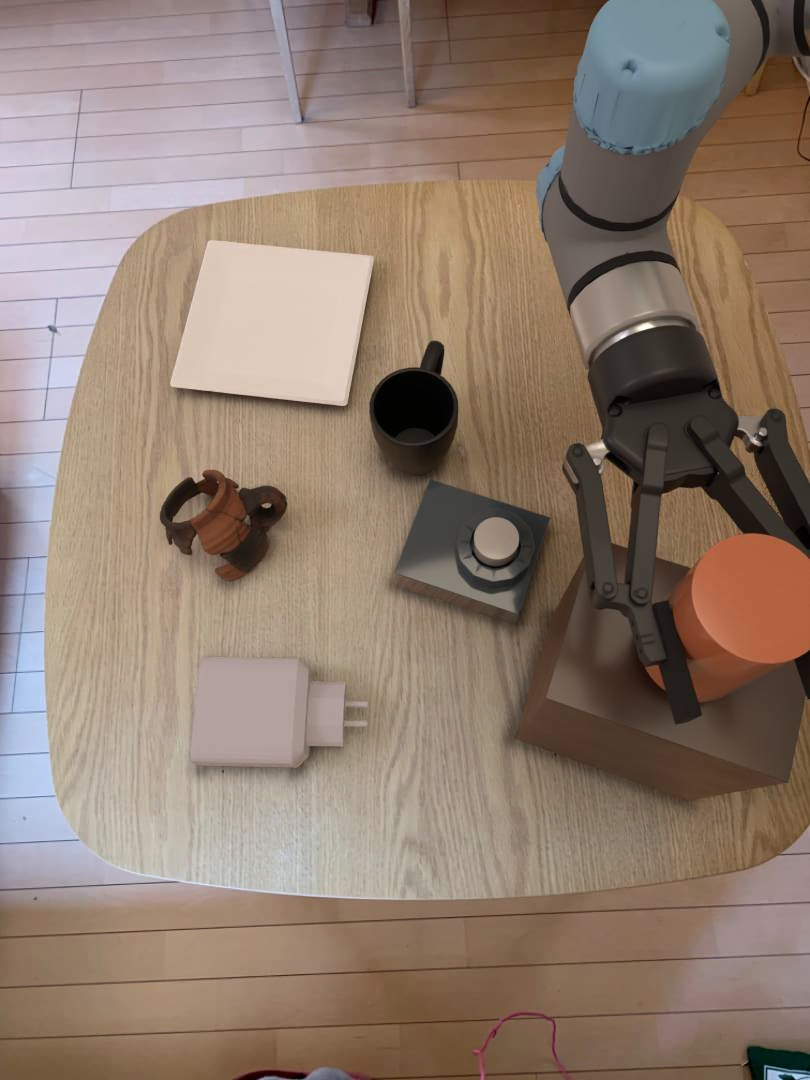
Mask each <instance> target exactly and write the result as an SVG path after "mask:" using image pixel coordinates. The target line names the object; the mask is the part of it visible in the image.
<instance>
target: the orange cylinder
mask: <svg viewBox="0 0 810 1080" xmlns="http://www.w3.org/2000/svg"><path fill="white" fill-rule="evenodd" d="M690 568H691V569H690V570H689V571H688V572H687V573H686V574H685V576H684V577H683V578H682V579H681V580H680V581H679V582H678V583H677V584H676V585H675V586H674V588H673V589H672V590H671V591H670V592H669V593H668V594H667V595H666V596H665V597H664V598H663V600H662V601H666V600H668V602H669V605H670V608H671V612H672V615H673V618H674V622H675V626H676V628H677V632H678V635H679V638H680V642H681V645H682V648H683V652H684V655H685V658H686V662H687V665H688V668H689V672H690V675H691V679H692V682H693V685H694V689H695V692H696V695H697V699H698V702H708V701H713V700H717V699H719V698H722V697H724V696H726V695H728V694H730V693H732V692H733V691H735V690H737V689H739V688H741V687H743V686H745V685H747V684H749V683H751V682H752V681H754V680H756V679H758V678H760V677H762V676H764V675H766V674H768V673H770V672H771V671H773V670H775V669H777V668H779V667H781V666H783V665H785V664H787V663H789V662H790V661H792V660H794V659H796V658H798V657H800V656H801V655H803V654H805V653H806V652H808V651H809V650H810V559H809V558H808V557H807V556H806V555H805V554H804V553H802V552H801V551H800V550H799V549H797V548H796V547H794V546H793V545H791V544H789V543H787V542H785V541H784V540H781V539H778V538H776V537H773V536H769V535H764V534H743V533H740V534H735V535H731V536H729V537H726V538H723V539H722V540H721V539H720V541H717V542H716V543H715V544H713V545H712V546H711V547H710V548H708V549H707V551H705V553H703V554H702V555H701V557H700V558H699V559H698V560H697V561H696V562H695V563H694V565H693V566H691V567H690ZM645 668H646V670H647V672H648V673H649V675H650V676H651V678H652V679H653V680H654V681H655V683H656V684H658V685H659V686H660V687H661V688H662V689H663V690H665V687H664V684H663V680H662V677H661V673H660V670H659V666H658V665H654V666H649V667H645Z"/></svg>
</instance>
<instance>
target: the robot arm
mask: <svg viewBox="0 0 810 1080" xmlns="http://www.w3.org/2000/svg"><path fill="white" fill-rule="evenodd" d="M582 52H583V53H582V54H581V57H580V59H579V61H578V64H577V68H576V76H575V77H574V79H573V93H572V96H573V97H572V105H571V110H570V115H569V120H568V121H569V122H568V129H567V133H566V139H565V144H564V145H562V146H561V147H559V148H558V149H557V150H555V152H554V153H553V154H552V155H551V157H550V160H549V162H548V163H547V164H546V166H544V167H542V168H541V170H540V172H539V174H538V176H537V179H536V184H535V185H536V186H535V197H536V198H535V199H536V202H537V207H538V212H539V218H538V219H539V227H540V229H541V231H540V232H541V233H543V238H544V240H545V242H546V243H547V246H548V249H549V253H550V256H551V259H552V262H553V266H554V269H555V272H556V276H557V280H558V282H559V283H558V284H559V286H560V289H561V293H562V296H563V299H564V302H565V305H566V309H567V312H568V315H569V319H570V321H571V326H572V330H573V333H574V336H575V339H576V343H577V346H578V349H579V353H580V357H581V361H582V364H583V366H584V369H585V370H587V382H588V385H589V388H590V392H591V396H592V399H593V402H594V406H595V410H596V412H597V416H598V419H599V422H600V425H601V436H600V439H598V440H595V441H594V442H592V443H589V444H587V445H585V444H582V443H580V442H576V443H571V445H569V447H568V448H567V451H566V453H565V456H564V460H563V463H562V466H561V471H562V474H563V475H564V477H565V479H566V481H567V482H568V484H569V486H570V489H571V490H572V492H573V494H574V497H575V503H576V512H577V518H578V524H579V534H580V540H581V548H582V554H583V557H584V562H585V569H586V577H587V584H588V591H589V598H590V603H591V605H592V606H593V607H594V608H596V609H598V610H603V609H606V608H607V609H613V610H618V611H620V612H621V614H622V615H623V616H625V617H627V618H628V620H629V624H630V627H631V631H632V635H633V638H634V642H635V645H636V649H637V652H638V656H639V659H640V661H641V662H642V663H643V665H644V666H645V667H649V666H654V665H658V666H659V670H660V673H661V677H662V680H663V684H664V687H665V691H666V694H667V697H668V701H669V704H670V708H671V711H672V715H673V718H674V722H675V725H676V724H681V723H687V722H690V721H692V720H694V719H696V718H698V717H700V716H702V712H701V709H700V705H699V702H698V699H697V695H696V692H695V689H694V685H693V682H692V679H691V675H690V672H689V668H688V665H687V662H686V658H685V655H684V652H683V648H682V645H681V642H680V638H679V635H678V632H677V628H676V626H675V622H674V618H673V615H672V612H671V608H670V605H669V602H668V600H666V601H661V602H655V603H654V604H653V603H652V600H651V598H652V594H653V582H654V571H655V560H656V557H657V548H658V536H659V527H660V525H659V524H660V513H661V503H662V496H663V494H668V493H671V492H673V491H675V490H677V489H680V488H681V489H697V488H701V489H702V490H703V492H704V493H705V494H706V495H707V497H709V498H710V499H711V500H714V501H716V502H717V503H718V504H719V505H720V506H721V508H722V509H723V510H724V512H725V513H726V514H727V516H728V517H729V518H730V519H731V520H732V522H733V523H734V524H735V526H737V528H738V529H739V530H740V532H741V534H764V535H769V536H773V537H776V538H778V539H781V540H784V541H785V542H787V543H789V544H791V545H793V546H794V547H796V548H797V549H799V550H800V551H801V552H802V553H804V554H805V555H806V556H807V557H808V558H809V559H810V481H809V479H808V477H807V475H806V473H805V471H804V469H803V468H802V465H801V463H800V462H799V460H798V458H797V456H796V454H795V452H794V450H793V448H792V446H791V444H790V442H789V436H788V427H787V418H786V414H785V412H784V411H782V410H781V409H779V408H770V409H768V410H766V412H765V414H764V415H741V414H740V415H739V414H738V413H737V412H736V410H735V409H734V408H733V407H732V406H731V405H729V404H728V402H727V401H726V400H725V398H724V396H723V394H722V390H721V389H722V388H721V385H720V380H719V377H718V374H717V371H716V368H715V364H714V362H713V360H712V356H711V354H710V351H709V348H708V346H707V343H706V340H705V337H704V335H703V334H702V333H700V323H699V320H698V318H697V317H698V316H697V315H696V311H695V308H694V306H693V303H692V300H691V298H690V295H689V293H688V289H687V287H686V283H685V280H684V279H683V276H682V272H681V269H680V267H679V266H678V262H677V259H676V256H675V253H674V250H673V247H672V244H671V240H670V238H669V235H668V222H669V220H670V216H671V214H672V212H673V209H674V206H675V204H676V202H677V200H678V198H679V196H680V195H679V194H680V191H681V188H682V186H683V182H684V181H685V178H686V175H687V173H688V169H689V167H690V165H691V163H692V160H693V157H694V155H695V153H696V151H697V149H698V148H699V146H700V145H701V142H702V141H703V139H704V138H705V137H706V135H707V134H708V133H709V131H710V130H711V129H712V128H713V126H714V125H715V124H716V122H717V121H718V120H719V119H720V117H721V116H723V114H724V112H726V110H727V109H728V108H729V106H730V105H731V104H732V103H733V101H734V100H735V99H736V98H737V96H738V95H739V94H740V92H741V91H742V90H743V89H744V87H746V86H747V84H748V83H749V82H750V81H751V80H752V78H753V77H754V75H755V74H756V73H757V72H758V71H759V70H760V68H761V67H762V66H763V65H764V63H765V62H766V61H767V60H768V59H770V58H773V57H781V58H782V57H783V58H784V57H788V58H801V57H810V0H608V1H607V2H605V3H604V4H603V6H602V7H601V8H600V9H599V11H598V12H597V13H596V15H595V16H594V18H593V21H592V22H591V25H590V28H589V30H588V34H587V38H586V41H585V44H584V49H583V51H582ZM734 438H738V439H739V440H741V441H742V443H743V445H744V450H745V451H746V453H748V454H753V459H754V462H755V466H756V468H757V470H758V473H759V475H760V477H761V479H762V480H763V483H764V484H765V487H766V489H767V491H768V493H769V494H770V497H771V498H772V500H773V502H774V505H775V506H776V508H777V510H778V512H777V511H776V510H775V509H774V507H773V506H772V505H771V503H770V502H768V500H767V499H766V498H765V496H764V495H763V494H762V493H761V492H760V491H759V489H758V488H757V487H756V485H754V483H753V482H752V480H751V479H750V478H749V477H748V476H747V473H746V468H745V466H744V464H743V462H742V461H741V460H740V459H739V458H738V457H737V455H736V454H735V453H734V451H732V449H731V447H732V443H733V441H734ZM605 460H607V461H608V462H610V464H612V465H613V466H615V467H616V468H617V469H619V470H620V471H621V473H623V474H624V475H626V476H627V477H629V478H630V479H631V480H632V486H631V487H632V488H631V496H630V509H631V510H630V511H631V512H630V519H629V520H630V522H629V529H628V530H629V531H628V542H627V548H628V550H627V560H626V570H625V580H624V584H623V583H618V582H617V576H616V569H615V563H614V556H613V549H612V543H613V542H612V537H611V529H610V524H609V518H608V517H609V516H608V509H607V503H606V498H605V497H606V496H605V491H604V484H603V480H602V476H603V473H604V471H605V469H606V464H605ZM778 513H779V514H780V515H779V514H778ZM794 661H795V664H796V667H797V670H798V673H799V676H800V678H801V681H802V684H803V687H804V690H805V693H806V698H807V700H810V650H809V651H808V652H806V653H805V654H803V655H801V656H800V657H798V658H796V659H794Z"/></svg>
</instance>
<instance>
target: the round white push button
mask: <svg viewBox="0 0 810 1080" xmlns="http://www.w3.org/2000/svg"><path fill="white" fill-rule="evenodd" d="M518 544H519V534H518V531H517V529H516V527H515V526H514V525H513V524H512V523H511V522H510V521H508V520H506V519H503V518H498V517H494V518H489V519H486V520H484V521H483V522H481V523H480V524H479V525H478V527H477V528H476V530H475V533H474V540H473V550H474V553H475V555H476V557H477V558H478V559H479V560H480V561H481V562H482V563H484V564H486V565H489V566H494V567H497V566H503V565H505V564H507V563H509V562H510V561H511V560H512V559H513V558H514V556H515V554H516V551H517V548H518Z"/></svg>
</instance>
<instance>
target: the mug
mask: <svg viewBox="0 0 810 1080" xmlns="http://www.w3.org/2000/svg"><path fill="white" fill-rule="evenodd" d="M444 359H445V345H444V344H443V343H442V342H440V341H439V340H431V341H429V343H428V344H427V346H426V348H425V351H424V353H423V356H422V359H421V362H420V365H419V367H418V366H416V367H405V368H401V369H397V370H395V371H392V372H390V373H389V374H387V375H386V376H384V377H383V378H382V379H381V380H380V381H379V382H378V383H377V384H376V386H375V387H374V390H373V391H372V393H371V396H370V399H369V405H368V412H369V420H370V425H371V426H370V427H371V430H372V435H373V438H374V440H375V443H376V444H377V446H378V448H379V450H380V452H381V453H382V454H383V456H384V457H385V458H386V459H387V461H388V462H390V464H391V465H392V466H393V467H394V468H395V469H396V470H397V471H398V472H400V473H402V474H405V475H406V476H412V477H413V476H424V475H426V474H428V473H430V472H432V471H434V469H436V468H437V466H438V465H440V463H441V461H443V459H444V457H446V455H447V454H448V452H449V450H450V447H451V446H452V445H453V442H454V440H455V437H456V433H457V428H458V423H459V422H458V421H459V399H458V395H457V392H456V390H455V389H454V387H453V386H452V384H451V383H450V382H449V381H448V380H447V379H446V378H445V377H444V376H442V371H443V366H444V365H443V364H444Z"/></svg>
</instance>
